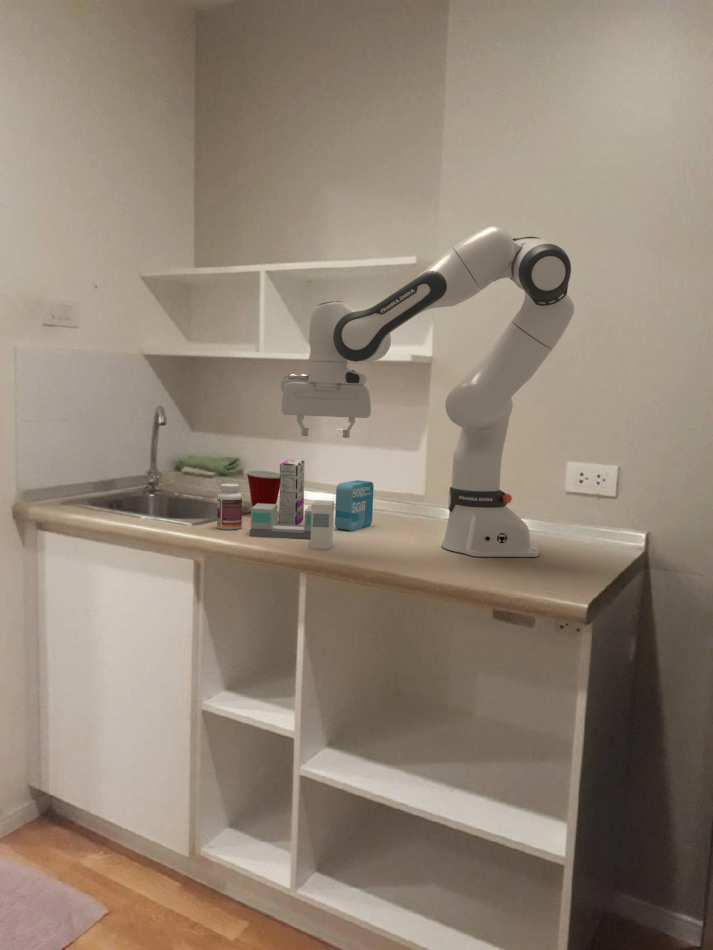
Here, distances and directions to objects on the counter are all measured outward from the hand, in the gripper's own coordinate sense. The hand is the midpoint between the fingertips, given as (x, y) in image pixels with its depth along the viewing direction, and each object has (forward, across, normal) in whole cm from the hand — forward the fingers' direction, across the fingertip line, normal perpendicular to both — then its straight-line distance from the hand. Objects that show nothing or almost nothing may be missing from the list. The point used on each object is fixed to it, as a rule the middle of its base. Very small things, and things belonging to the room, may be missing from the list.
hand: (325, 436), depth 169 cm
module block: (+25, 0, 0) cm, 25 cm away
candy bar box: (+25, -11, +27) cm, 39 cm away
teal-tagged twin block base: (+25, -9, +11) cm, 29 cm away
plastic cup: (+25, -20, +37) cm, 49 cm away
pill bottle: (+25, -25, +15) cm, 39 cm away
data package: (+25, +6, +24) cm, 35 cm away
